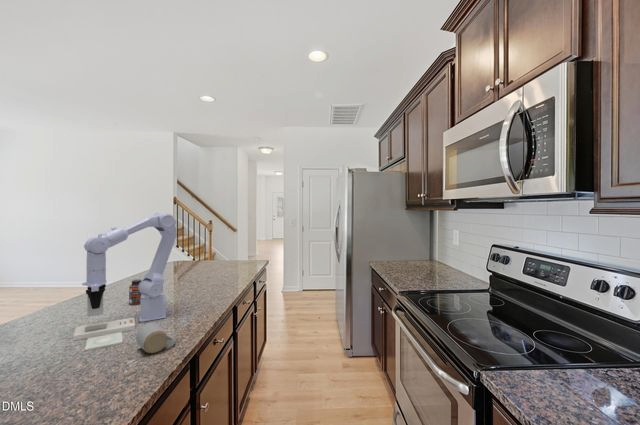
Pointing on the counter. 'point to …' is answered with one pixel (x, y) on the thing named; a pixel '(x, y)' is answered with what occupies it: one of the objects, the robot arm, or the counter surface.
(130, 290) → the supplement bottle
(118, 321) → the power strip
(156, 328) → the ceramic mug
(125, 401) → the counter surface
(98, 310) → the block
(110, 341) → the pad
